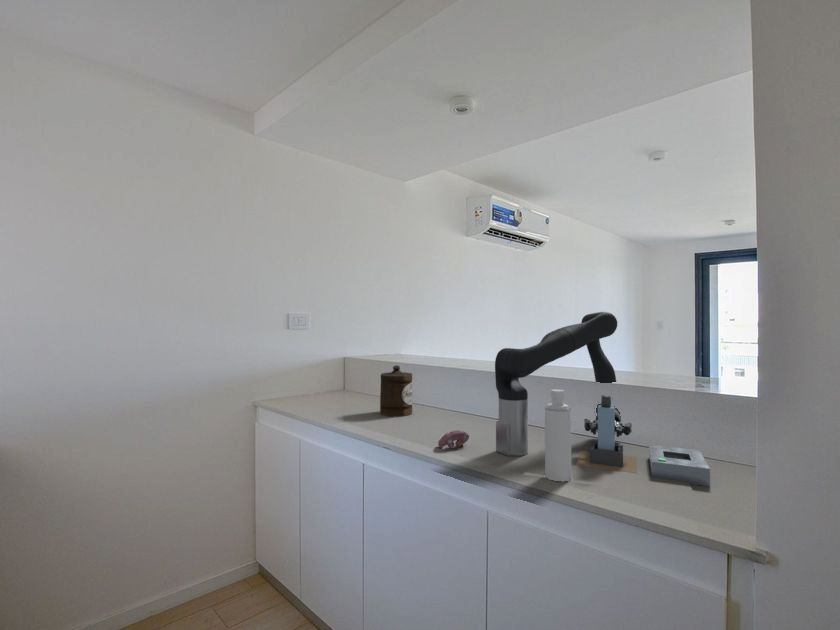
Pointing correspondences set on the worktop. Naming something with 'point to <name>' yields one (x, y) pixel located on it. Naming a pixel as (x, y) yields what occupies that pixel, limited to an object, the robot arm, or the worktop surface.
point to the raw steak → (453, 439)
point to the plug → (606, 424)
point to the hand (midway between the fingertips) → (606, 432)
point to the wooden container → (396, 393)
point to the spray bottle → (558, 438)
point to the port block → (679, 464)
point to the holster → (607, 459)
